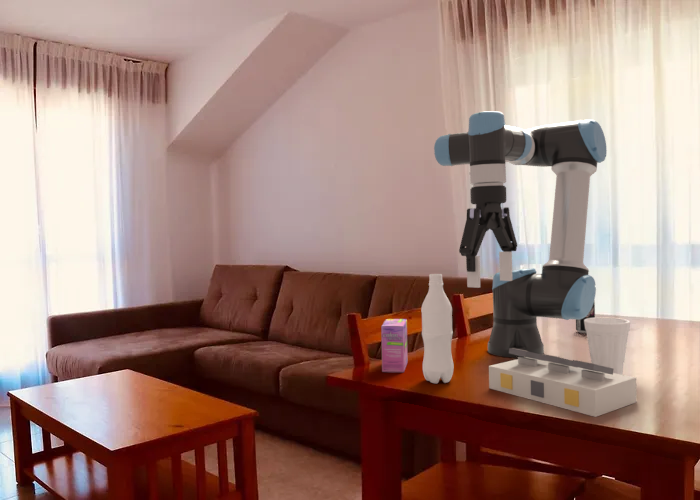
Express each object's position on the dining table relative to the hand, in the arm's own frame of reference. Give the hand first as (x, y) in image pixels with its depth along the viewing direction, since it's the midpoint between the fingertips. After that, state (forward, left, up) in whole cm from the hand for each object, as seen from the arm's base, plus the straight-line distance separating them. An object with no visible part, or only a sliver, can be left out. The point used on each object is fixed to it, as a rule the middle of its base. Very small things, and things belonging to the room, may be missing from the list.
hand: (490, 284), depth 131 cm
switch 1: (-8, +3, -16) cm, 18 cm away
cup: (-29, +9, -24) cm, 38 cm away
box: (+2, -31, -24) cm, 39 cm away
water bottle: (+3, -14, -24) cm, 28 cm away
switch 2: (-8, +11, -16) cm, 21 cm away
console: (-8, +11, -23) cm, 27 cm away
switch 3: (-8, +19, -16) cm, 26 cm away
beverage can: (-73, -26, -24) cm, 81 cm away
